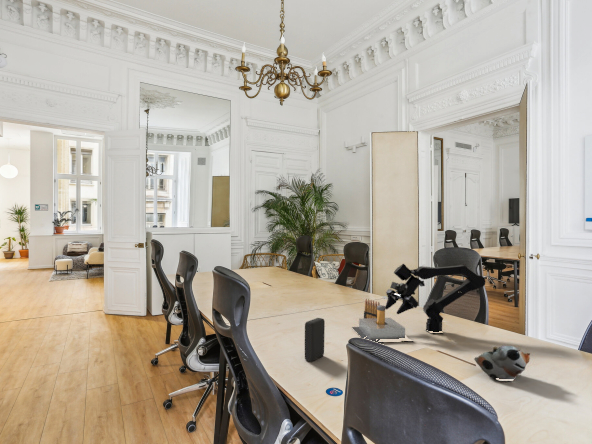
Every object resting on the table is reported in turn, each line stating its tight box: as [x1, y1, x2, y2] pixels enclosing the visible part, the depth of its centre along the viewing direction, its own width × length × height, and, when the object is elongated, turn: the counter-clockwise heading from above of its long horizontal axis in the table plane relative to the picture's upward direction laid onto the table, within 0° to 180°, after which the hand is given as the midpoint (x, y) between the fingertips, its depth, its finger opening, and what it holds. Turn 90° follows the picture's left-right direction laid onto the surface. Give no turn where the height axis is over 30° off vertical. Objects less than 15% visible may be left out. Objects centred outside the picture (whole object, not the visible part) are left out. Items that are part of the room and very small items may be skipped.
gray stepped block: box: [351, 317, 406, 344], centre depth 162 cm, size 22×22×6 cm
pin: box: [377, 304, 386, 325], centre depth 162 cm, size 4×4×13 cm
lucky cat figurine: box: [473, 345, 531, 379], centre depth 119 cm, size 15×12×14 cm
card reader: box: [304, 317, 326, 362], centre depth 133 cm, size 9×4×15 cm, turn 141°
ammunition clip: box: [363, 298, 381, 318], centre depth 182 cm, size 11×2×12 cm, turn 35°
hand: (391, 311), depth 164 cm, fingers open, 9 cm apart
